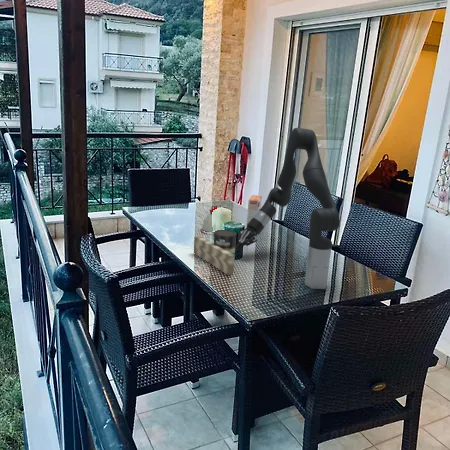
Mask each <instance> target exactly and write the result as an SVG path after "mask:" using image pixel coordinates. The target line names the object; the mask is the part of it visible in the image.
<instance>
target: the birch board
mask: <svg viewBox="0 0 450 450" xmlns="http://www.w3.org/2000/svg"><path fill="white" fill-rule="evenodd" d="M194 253H195V254H196V255H198V256H199V257H201V258H203V259H204V260H206V261H207V262H209V263H210V264H209V263H208V264H209V265H211V264H212V265H213V266H212V265H211V266H212V267H214V266H215V267H216V268H215V267H214V268H215V269H217V268H218V269H217V270H219V271H220V270H221V272H222V273H223V272H224V274H225V275H227V276H233V275H234V267H235V266H234V265H235V256H234V255H233V254H231V253H230V252H228V251H226V250H224V249H222V248H220V247H219V246H217V245H215V244H214V242H211V241H209V240H208V239H205V238H204V237H202V236H200V235H194V238H193V254H194ZM195 254H194V255H195ZM196 255H195V256H196ZM198 256H197V257H198ZM199 257H198V258H199ZM201 258H200V259H201ZM203 259H202V260H203ZM204 260H203V261H204ZM206 261H205V262H206ZM207 262H206V263H207Z"/></svg>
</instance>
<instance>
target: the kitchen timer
mask: <svg viewBox="0 0 450 450" xmlns="http://www.w3.org/2000/svg"><path fill="white" fill-rule="evenodd" d="M217 208H218V206H217V205H215V206H211V207H210V209H209V213H208V214H207V216H206V217H205V218H203V224H202V225H201V231H202V230H203V231H205V232H212V231H213V227H212V212H213V210H215V209H217Z"/></svg>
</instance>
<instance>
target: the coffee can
mask: <svg viewBox="0 0 450 450" xmlns="http://www.w3.org/2000/svg"><path fill="white" fill-rule="evenodd" d="M236 239H237V232H235V231H234V230H229V229H226V230H217V231H215V232H214V235H213V244H215V245H217V246H219V247H220V248H222V249H224V250H226V251H228V252H230V253H231V254H233V255H234V257H235V256H236V255H235V254H236V249H235V246H236V244H237V243H236V241H237V240H236Z"/></svg>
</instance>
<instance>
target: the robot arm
mask: <svg viewBox="0 0 450 450" xmlns="http://www.w3.org/2000/svg"><path fill="white" fill-rule="evenodd" d="M318 144H319V143H318V139H317V135H316V132H315V131H314V130H313V129H307V128H301V127H294V128H293V129H292V131H290V135H289V137H288V140H287V145H286V150H285V155H284V162H283V164H282V168H281V172H280V173H279V177H278V179H277V186H278V187H272V188H271V189H270V190H269V193H268V195H267V197H266V200H265V202H264V204H263V205H261V208H260V210H259V211H258V212H257V213H256V214H255V215H254V217H253V218H252V219H251V220H250V221H249V223H248V224H247V223H246V226H247V228H246V227H245V228H244V229H243V230H238V232H237V233H238V234H237V237H236V239H237V240H236V241H237V243H236V244H235V251H236V252H240V251H241V249H243V247H245V246H246V247H248V246H250V245H252V244H255V243H256V242H258V239H257V236H258V235H260V234H261V233H262V232H263V231H264V229H265V228H266V226H267V225H268V224H269V223H270V221H271V219H272V218H273V217H274V216H275V215H276V213H277V208H276V207H275V206H274V205H273V203H275V204H276V205H278V206H280V207H281V208H282V207H283V208H285V207H286V206H288V204H289V203H290V202H291V196H292V195H291V193H292V186H293V183H294V180H295V177H296V175H297V168H296V166H297V165H296V162H295V153H296V151H297V150H304V151H305V152H306V154H307V160H306V162H305V165H304V166H303V170H302V178H303V182H304V185H305V187H306V189H307V190H308V192H309V193H310V194H311V195H312V196H314V198H315V199H316V200H317V201H318V202H319V203H320V204H321V207H322V208H314V209H313V210H312V211H311V214H310V218H309V232H308V233H309V234H308V239H309V240H308V241H309V242H308V243H309V244H308V249H307V257H306V258H307V260H306V267H305V276H304V277H305V278H304V285H305V286H306V287H309V288H310V289H311V290H326V289H327V286H328V285H327V284H328V279H329V278H328V277H329V272H330V271H329V270H330V262H331V254H332V247H333V241H332V240H331V239H330V238H327V237H326V236H322V232H333V231H337V230H338V229H339V227H340V223H341V221H340V219H341V218H340V214H339V212H338V209H337V206H336V203H335V201H334V199H333V196H332V194H331V192H330V187H329V184H328V180H327V176H326V173H325V169H324V166H323V164H322V158H321V155H320V151H319V146H318Z"/></svg>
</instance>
